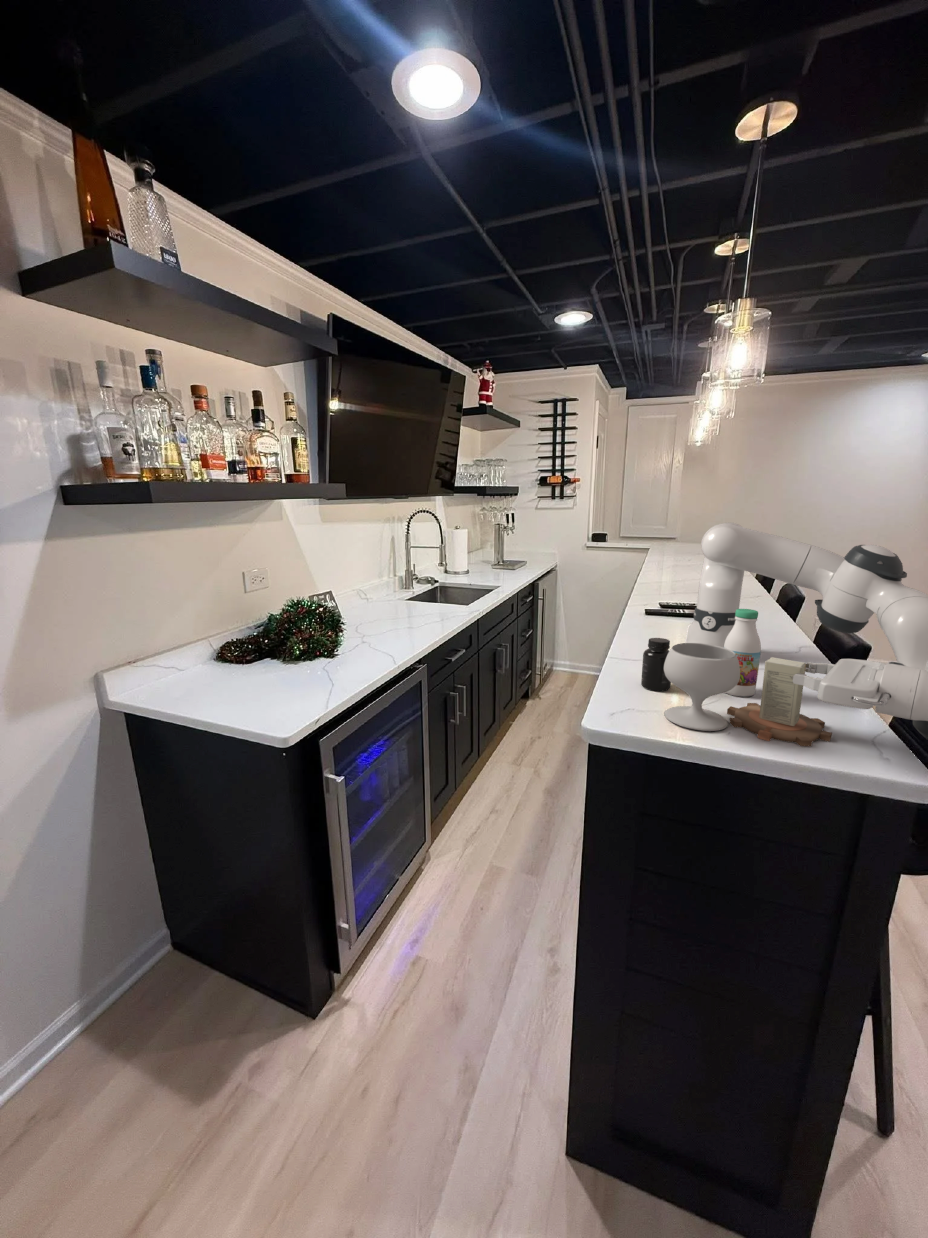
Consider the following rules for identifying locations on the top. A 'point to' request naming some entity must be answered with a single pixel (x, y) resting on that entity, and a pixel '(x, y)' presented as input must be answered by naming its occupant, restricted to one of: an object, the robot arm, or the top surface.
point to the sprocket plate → (778, 726)
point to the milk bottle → (745, 651)
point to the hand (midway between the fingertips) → (799, 672)
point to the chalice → (700, 682)
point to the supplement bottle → (655, 665)
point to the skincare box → (781, 691)
